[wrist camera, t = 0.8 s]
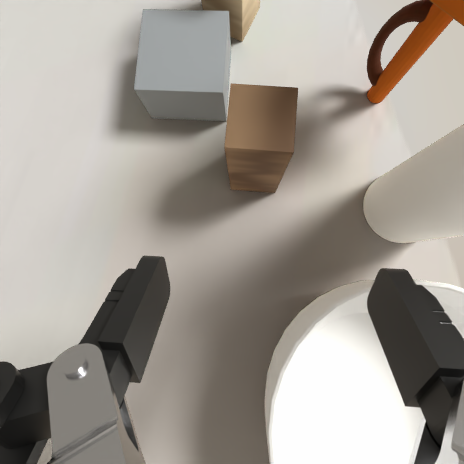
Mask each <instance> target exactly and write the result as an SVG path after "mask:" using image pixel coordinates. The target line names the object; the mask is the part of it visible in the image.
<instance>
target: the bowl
mask: <svg viewBox="0 0 464 464" xmlns="http://www.w3.org/2000/svg"><path fill="white" fill-rule="evenodd" d="M413 280H414V279H413ZM374 281H375V280H365V281H358V282H354V283H350V284H347V285H343V286H339V287H337V288H335V289H333V290H331V291H329V292H327V293H325V294H323V295H321V296H319V297H318V298H316V299H315V300H314V301H313V302H311V303H310V304H309V305H308V306H306V307H305V308H304V309H302V310H301V311H300V312H299V313H298V315H297V316H296V317H295V318H294V319H293V321H292V322H291V323H290V324H289V325H288V327H287V328H286V329H285V331H284V333H283V335H282V337H281V338H280V340H279V342H278V344H277V346H276V348H275V350H274V353H273V356H272V359H271V362H270V366H269V369H268V372H267V381H266V390H265V421H266V434H267V445H268V454H269V463H270V464H408V463H409V460H410V457H411V453H412V450H413V446H414V443H415V439H416V436H417V432H418V429H419V425H420V422H421V420H422V418H423V417H424V415H423V413H422V411H421V408H419V407H407V406H405V405H404V402H403V399H402V397H401V394H400V392H399V389H398V387H397V384H396V382H395V379H394V376H393V374H392V371H391V369H390V366H389V364H388V361H387V359H386V356H385V354H384V351H383V348H382V346H381V343H380V341H379V338H378V336H377V333H376V331H375V328H374V325H373V323H372V320H371V318H370V315H369V313H368V309H367V298H368V295H369V292H370V290H371V288H372V285H373V283H374ZM414 282H415V283H416V285H422V286H423V287H425V288H426V289H427V290H428V291H429V292H430V293H432V294H433V295H434V296H435V297H436V298H437V300H438V301H439V303H440V304H441V306H442V307H443V309H444V310H445V311H444V312H445V313H447V315H448V316H449V318H450V319H451V321H452V324H453V325H455V327H456V328H457V330H458V331H459V333H460V334H461V336H462V337H463V339H464V289H462V288H460V287H457V286H453V285H450V284H447V283H439V282H431V281H424V280H414Z"/></svg>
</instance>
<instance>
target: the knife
mask: <svg viewBox="0 0 464 464" xmlns="http://www.w3.org/2000/svg"><path fill="white" fill-rule="evenodd" d="M453 19H455V20H456V21H458V22H459V23H460V24H462V25H463V26H464V0H420V1H415V2H414V3H411V4H409V5H407V6H405V7H403V8H402V9H401V10H399V11H398V12H397V13H395V14H394V15H393V16H392V17H391V18H390V19H389V20H388V21H387V22H386V23H385V24H384V26H383V27H382V28H381V30H380V31H379V33H378V34H377V36H376V38H375V39H374V41H373V44H372V46H371V48H370V51H369V55H368V59H367V73H368V78H369V80H370V82H371V84H372V85H373V86H372V87H371V88H370V90H369V91H368V93H367V97H368V99H369V101H371V102H372V103H380V102H381V101H382V100H383V99H384V98H385V97H386V96H387V95H388V94H389V92H390V91H391V90H392V89H393V88H394V87H395V85H396V84H397V83H398V82H399V81H400V80H401V79H402V77H403V76H404V75H405V74H406V73H407V72H408V70H409V69H410V68H411V67H412V66H413V65H414V64H415V62H416V61H417V60H418V59H419V58H420V57H421V56H422V54H423V53H424V52H425V51H426V50H427V49H428V47H429V46H430V45H431V44H432V43H433V42H434V41H435V39H436V38H437V37H438V36H439V35H440V34H441V32H442V31H443V30H444V29H445V28H446V27H447V26H448V24H449V23H450V22H451V21H452V20H453ZM414 21H415V22H419V23H418V25H417V26H416V27H415V29H414V30H413V31H412V33H411V34H410V35H409V37H408V38H407V40H406V41H405V42H404V44H403V45H402V46H401V48H400V49H399V50H398V52H397V53H396V54H395V56H394V57H393V59H392V60H391V61H390V62H389V64H388V65H387V67H386V68H385V69H384V71H383V69H382V67H381V62H380V58H381V51H382V48H383V45H384V43H385V41H386V39H387V38H388V36H389V35H390V34H391V33H392V32H393V31H394V30H395V29H396V28H397V27H399V26H400V25H402V24H404V23H407V22H414Z"/></svg>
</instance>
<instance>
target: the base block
mask: <svg viewBox="0 0 464 464" xmlns="http://www.w3.org/2000/svg"><path fill="white" fill-rule="evenodd" d="M230 62H231V40H230V21H229V11H207V10H158V9H143V13H142V22H141V31H140V40H139V49H138V58H137V67H136V75H135V84H134V90H135V92H136V94H137V95H138V97H139V98H140V100H141V102H142V103H143V105H144V106H145V108H146V110H147V111H148V113H149V114H150V116H151V118H160V119H184V120H209V121H226V119H227V105H228V90H229V76H230Z"/></svg>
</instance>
